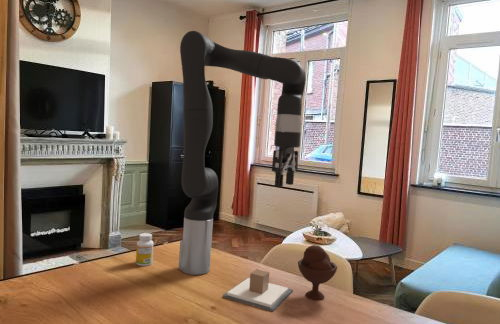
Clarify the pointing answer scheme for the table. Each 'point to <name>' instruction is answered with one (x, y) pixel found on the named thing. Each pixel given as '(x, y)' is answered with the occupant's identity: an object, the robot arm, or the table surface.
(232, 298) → the mat
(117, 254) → the table surface
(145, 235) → the supplement bottle
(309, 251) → the ice cream bowl
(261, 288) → the lid
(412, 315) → the table surface
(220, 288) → the table surface
